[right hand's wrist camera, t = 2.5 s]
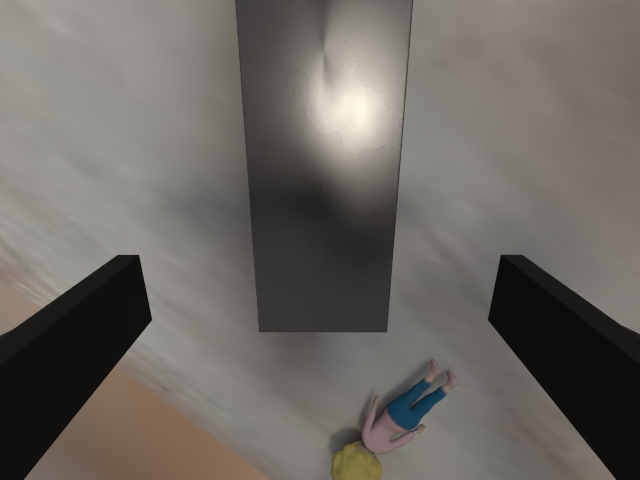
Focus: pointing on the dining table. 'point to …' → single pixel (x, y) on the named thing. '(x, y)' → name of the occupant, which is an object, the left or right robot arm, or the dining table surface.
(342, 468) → the figurine
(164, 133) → the dining table surface
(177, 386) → the dining table surface
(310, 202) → the box
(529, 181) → the dining table surface
